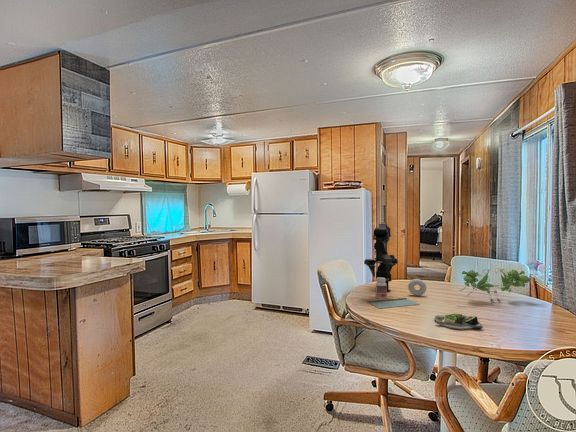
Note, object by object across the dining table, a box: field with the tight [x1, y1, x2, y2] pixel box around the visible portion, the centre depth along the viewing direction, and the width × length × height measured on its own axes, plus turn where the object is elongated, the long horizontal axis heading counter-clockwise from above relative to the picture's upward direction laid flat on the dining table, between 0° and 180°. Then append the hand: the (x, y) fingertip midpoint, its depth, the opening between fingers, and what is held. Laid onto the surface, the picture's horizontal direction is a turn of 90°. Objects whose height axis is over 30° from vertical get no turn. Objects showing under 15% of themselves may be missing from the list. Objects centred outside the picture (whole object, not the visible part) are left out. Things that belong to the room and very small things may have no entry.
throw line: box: [367, 297, 408, 304], centre depth 183 cm, size 2×24×1 cm, turn 105°
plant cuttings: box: [458, 268, 532, 304], centre depth 180 cm, size 35×17×22 cm
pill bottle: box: [375, 277, 388, 300], centre depth 189 cm, size 6×6×11 cm
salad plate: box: [433, 313, 484, 331], centre depth 145 cm, size 19×18×5 cm
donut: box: [407, 278, 427, 297], centre depth 192 cm, size 10×4×10 cm, turn 70°
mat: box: [369, 298, 420, 310], centre depth 176 cm, size 10×24×1 cm, turn 105°
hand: (381, 276), depth 189 cm, fingers open, 9 cm apart
